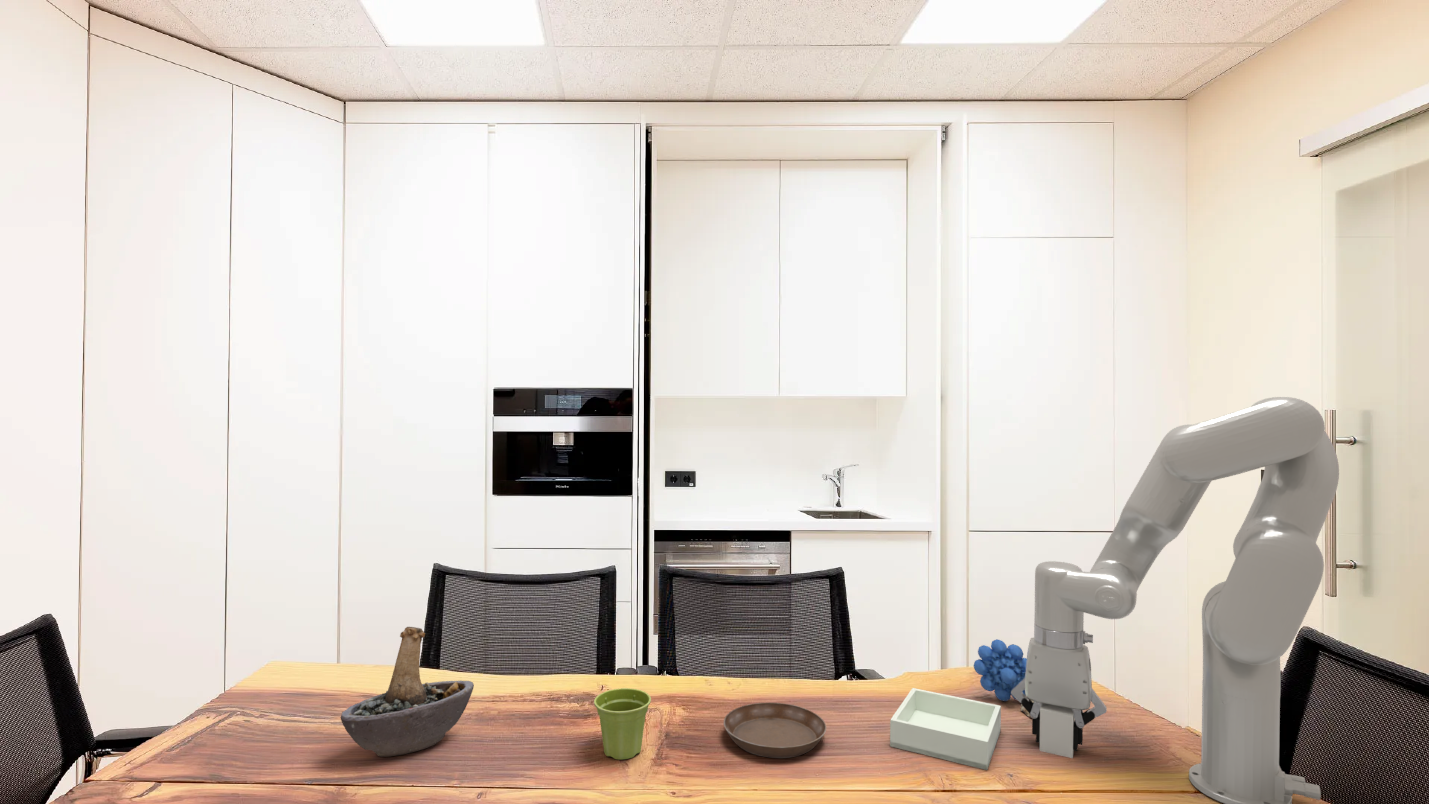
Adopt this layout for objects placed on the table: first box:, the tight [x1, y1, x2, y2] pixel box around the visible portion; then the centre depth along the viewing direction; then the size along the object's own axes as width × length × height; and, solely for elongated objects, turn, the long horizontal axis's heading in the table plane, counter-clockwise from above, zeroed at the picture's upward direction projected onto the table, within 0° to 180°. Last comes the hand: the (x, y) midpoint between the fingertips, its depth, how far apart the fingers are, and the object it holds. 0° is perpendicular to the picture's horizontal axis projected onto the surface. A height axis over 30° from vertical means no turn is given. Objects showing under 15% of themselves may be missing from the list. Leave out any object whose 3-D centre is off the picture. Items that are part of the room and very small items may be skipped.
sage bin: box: [889, 687, 1002, 771], centre depth 125 cm, size 16×16×4 cm
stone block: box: [1039, 703, 1075, 759], centre depth 122 cm, size 5×5×7 cm
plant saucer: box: [723, 702, 827, 759], centre depth 124 cm, size 18×18×3 cm
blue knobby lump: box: [973, 639, 1027, 702], centre depth 140 cm, size 12×7×12 cm, turn 82°
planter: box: [340, 626, 475, 758], centre depth 119 cm, size 15×17×20 cm
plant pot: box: [593, 687, 652, 760], centre depth 119 cm, size 9×9×9 cm
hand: (1056, 742), depth 122 cm, fingers closed on stone block, 5 cm apart
